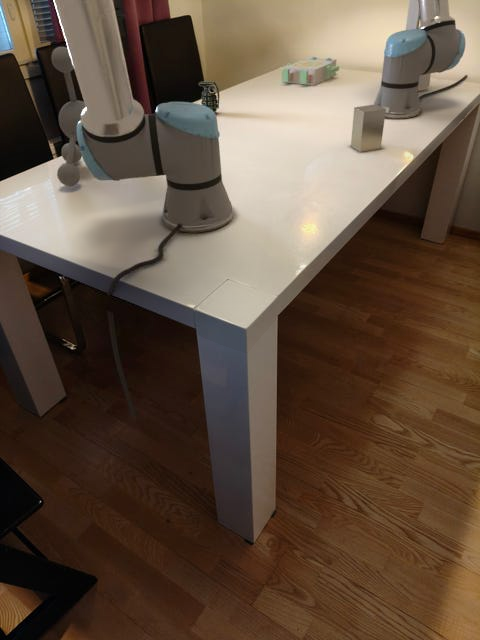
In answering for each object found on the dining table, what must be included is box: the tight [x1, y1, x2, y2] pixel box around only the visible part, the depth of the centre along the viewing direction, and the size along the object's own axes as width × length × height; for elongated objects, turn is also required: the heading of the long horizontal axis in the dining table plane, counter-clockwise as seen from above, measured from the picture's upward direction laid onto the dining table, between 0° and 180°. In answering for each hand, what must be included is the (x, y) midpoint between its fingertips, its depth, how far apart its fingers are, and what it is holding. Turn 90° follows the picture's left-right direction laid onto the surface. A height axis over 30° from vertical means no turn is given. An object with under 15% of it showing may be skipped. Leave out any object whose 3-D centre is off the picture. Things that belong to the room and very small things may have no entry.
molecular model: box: [50, 46, 86, 187], centre depth 124 cm, size 24×22×30 cm
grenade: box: [197, 81, 220, 114], centre depth 169 cm, size 7×6×10 cm
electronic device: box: [405, 0, 432, 92], centre depth 176 cm, size 12×8×30 cm, turn 105°
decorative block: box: [281, 56, 340, 86], centre depth 204 cm, size 26×6×20 cm
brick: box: [350, 103, 386, 153], centre depth 134 cm, size 7×5×11 cm
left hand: (120, 48), depth 115 cm, fingers open, 13 cm apart
